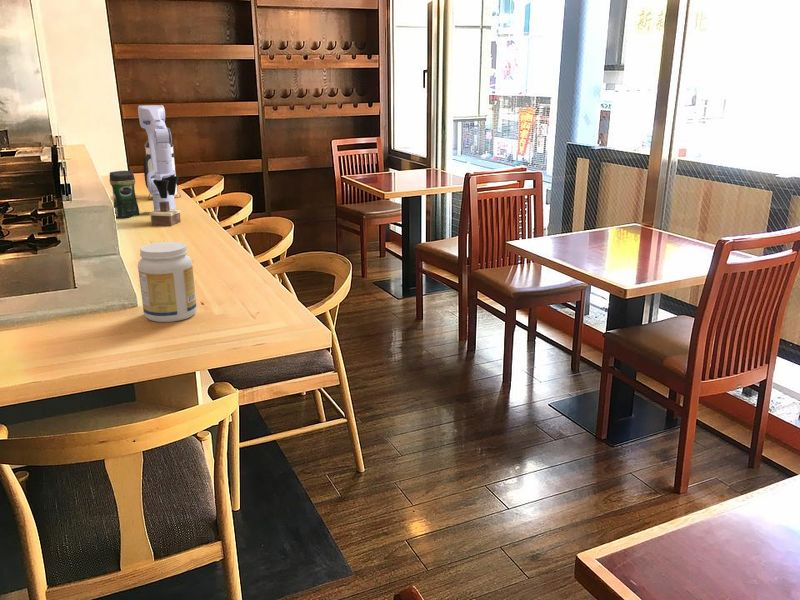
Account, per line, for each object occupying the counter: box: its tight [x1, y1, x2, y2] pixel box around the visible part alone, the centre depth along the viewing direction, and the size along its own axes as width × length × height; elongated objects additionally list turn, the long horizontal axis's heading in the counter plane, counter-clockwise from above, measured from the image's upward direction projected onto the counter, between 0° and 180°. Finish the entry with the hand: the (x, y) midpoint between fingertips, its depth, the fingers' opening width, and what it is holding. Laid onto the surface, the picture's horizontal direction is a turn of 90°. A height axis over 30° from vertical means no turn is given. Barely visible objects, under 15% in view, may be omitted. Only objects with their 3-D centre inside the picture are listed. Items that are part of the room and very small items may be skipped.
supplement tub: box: [137, 241, 198, 323], centre depth 160 cm, size 12×12×17 cm
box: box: [150, 212, 182, 227], centre depth 261 cm, size 8×8×4 cm
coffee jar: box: [109, 170, 140, 219], centre depth 275 cm, size 10×8×19 cm
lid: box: [148, 201, 182, 217], centre depth 260 cm, size 9×9×5 cm
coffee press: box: [143, 139, 182, 201], centre depth 315 cm, size 17×16×30 cm
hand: (167, 196), depth 262 cm, fingers open, 7 cm apart
